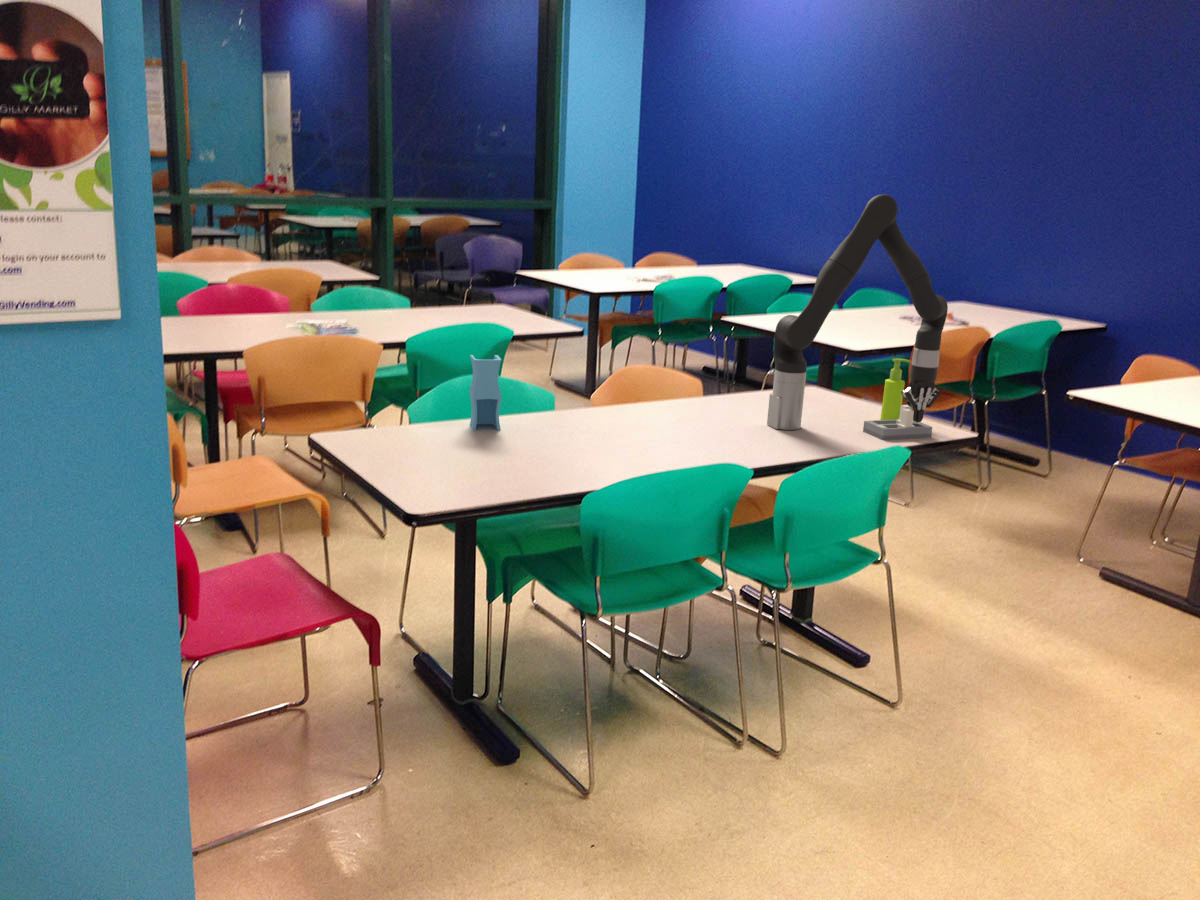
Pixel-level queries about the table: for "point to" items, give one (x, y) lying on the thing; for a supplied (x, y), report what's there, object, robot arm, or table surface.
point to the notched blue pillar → (485, 392)
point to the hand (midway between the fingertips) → (917, 421)
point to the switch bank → (896, 430)
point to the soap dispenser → (893, 392)
